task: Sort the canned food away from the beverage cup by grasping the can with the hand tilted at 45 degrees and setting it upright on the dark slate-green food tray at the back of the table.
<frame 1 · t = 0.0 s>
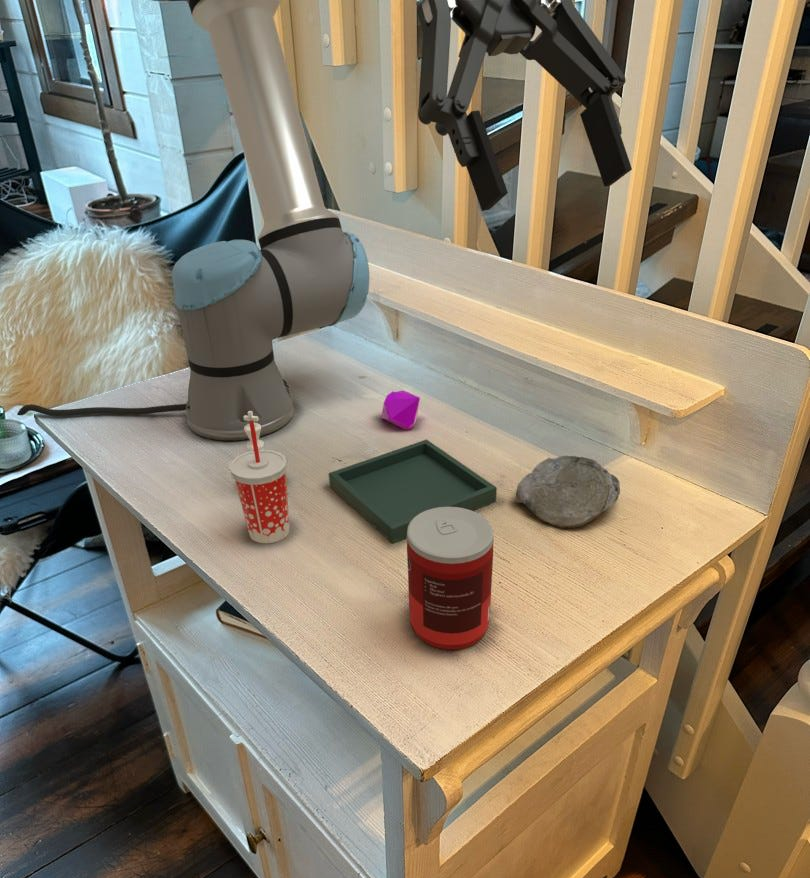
hand: (559, 190, 62), 36 cm above the cabinet top, tool tilted 35°, fingers open, 13 cm apart
chess piece: (262, 485, 95), on the cabinet top
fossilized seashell: (570, 505, 89), on the cabinet top
beverage cup: (269, 533, 87), on the cabinet top
crystal: (400, 423, 107), on the cabinet top
canned food: (449, 624, 73), on the cabinet top
food tray: (411, 493, 92), on the cabinet top
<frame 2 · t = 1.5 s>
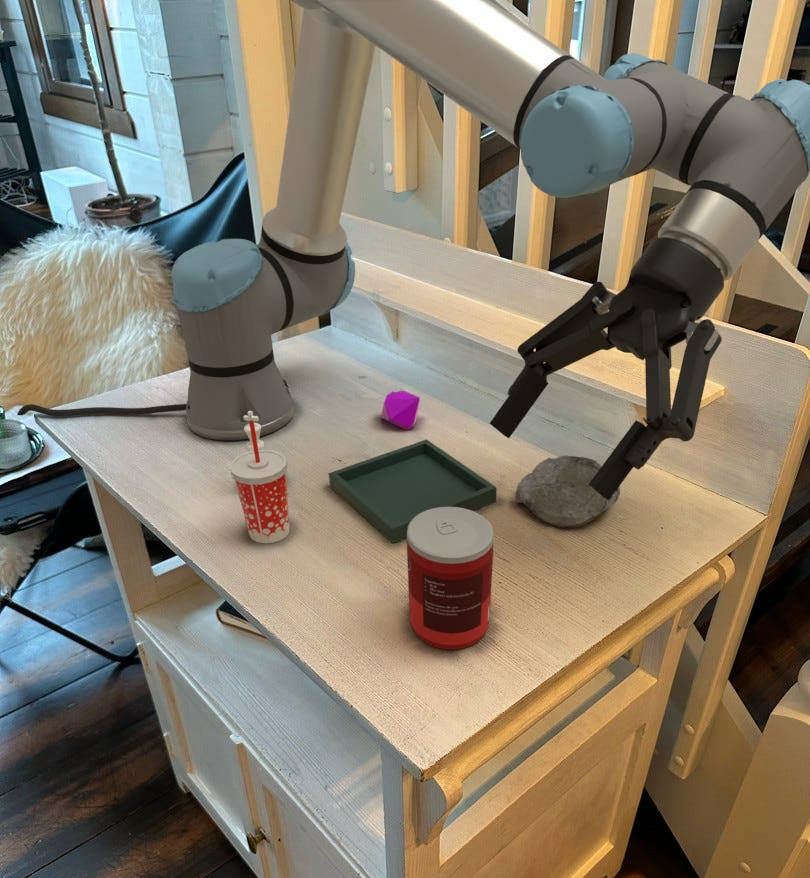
hand: (545, 460, 69), 15 cm above the cabinet top, tool tilted 45°, fingers open, 13 cm apart
nothing on the cabinet top moved.
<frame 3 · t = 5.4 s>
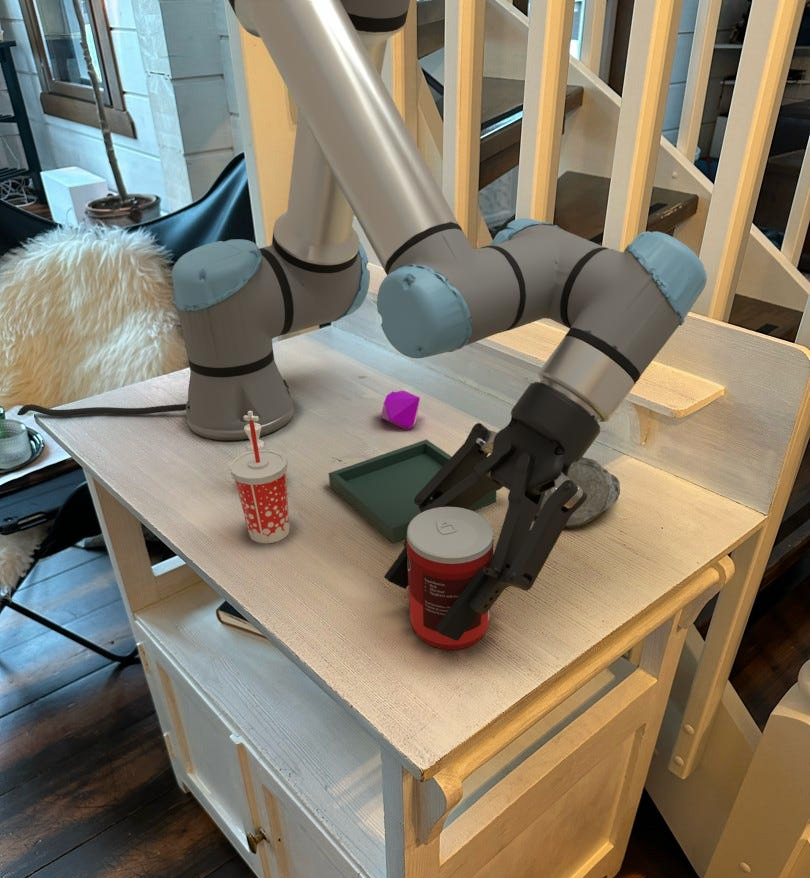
hand: (419, 607, 70), 4 cm above the cabinet top, tool tilted 45°, fingers closed on canned food, 8 cm apart
canned food: (449, 624, 73), on the cabinet top, touching gripper
everything else where it was.
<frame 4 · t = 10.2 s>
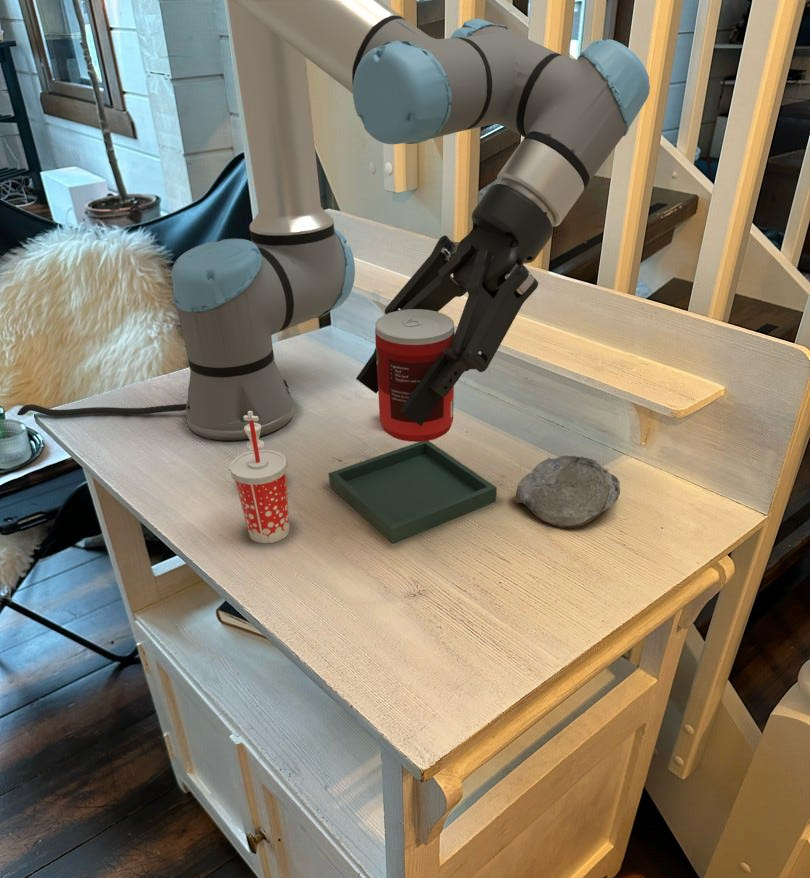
hand: (387, 401, 76), 16 cm above the cabinet top, tool tilted 45°, fingers closed on canned food, 8 cm apart
canned food: (416, 426, 79), point 13 cm above the cabinet top, touching gripper
everything else where it was.
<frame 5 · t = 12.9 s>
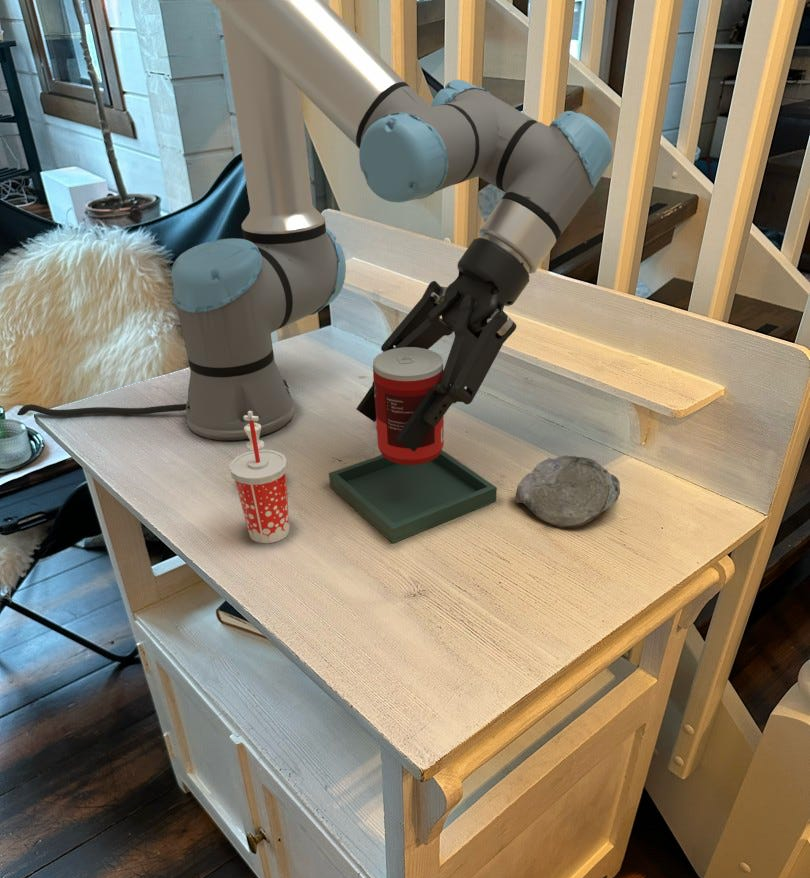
hand: (384, 429, 85), 10 cm above the cabinet top, tool tilted 45°, fingers closed on canned food, 8 cm apart
canned food: (410, 451, 89), point 6 cm above the cabinet top, touching gripper
everything else where it was.
when the fingers open (4 cm above the cabinet top, at t = 14.9 s): canned food stays where it is, resting on food tray.
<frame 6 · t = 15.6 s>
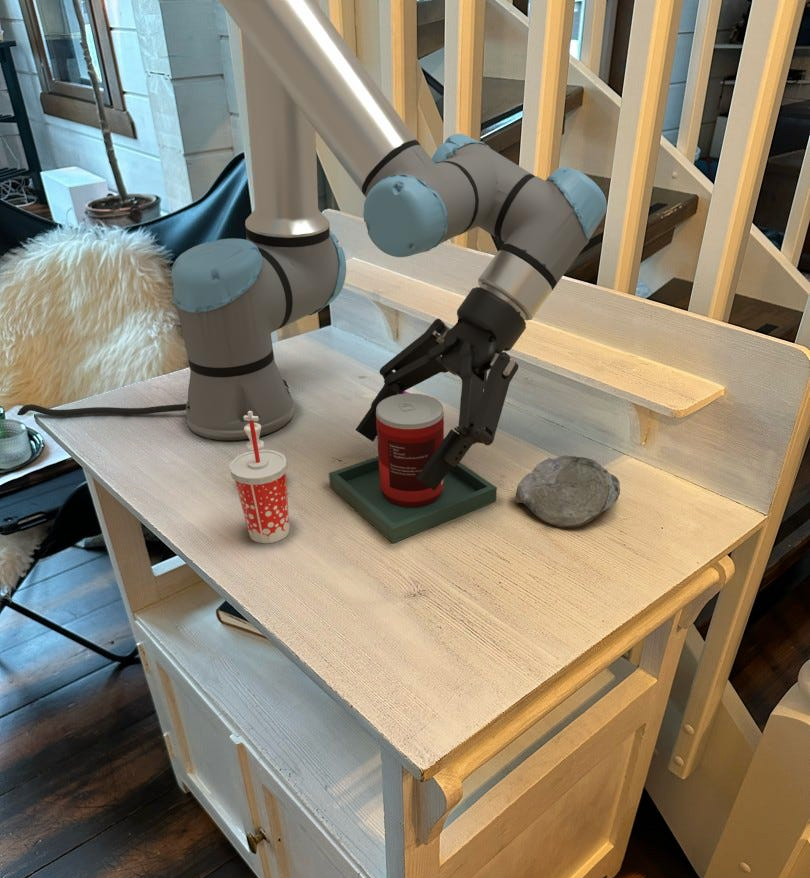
hand: (392, 459, 88), 6 cm above the cabinet top, tool tilted 45°, fingers open, 13 cm apart
canned food: (412, 491, 92), resting on food tray
everything else where it was.
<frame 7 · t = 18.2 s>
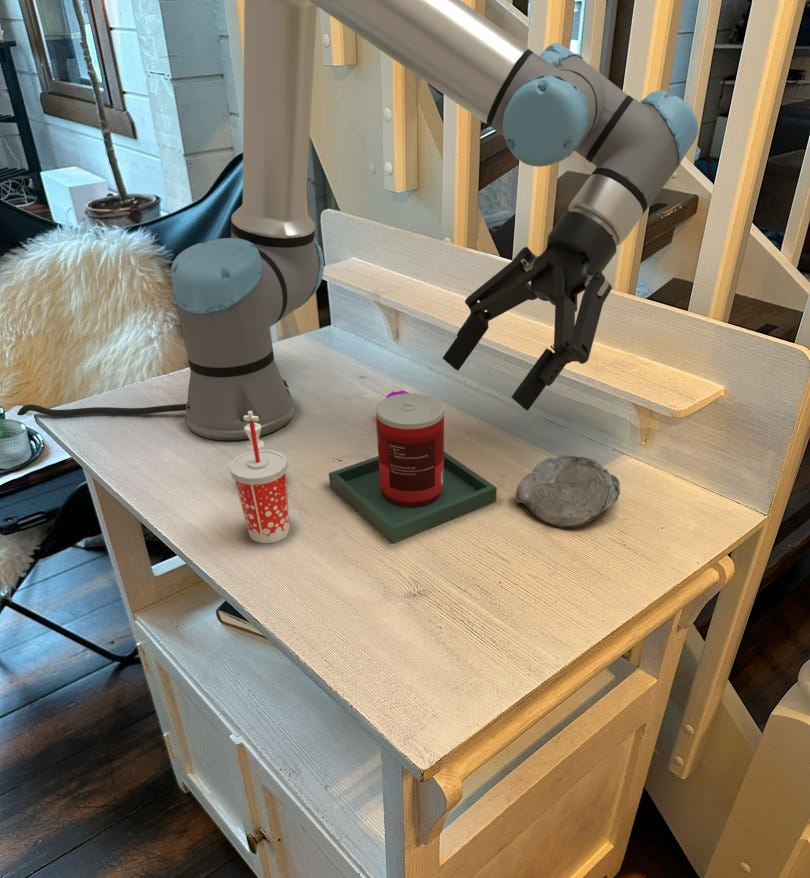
hand: (482, 383, 89), 12 cm above the cabinet top, tool tilted 45°, fingers open, 13 cm apart
nothing on the cabinet top moved.
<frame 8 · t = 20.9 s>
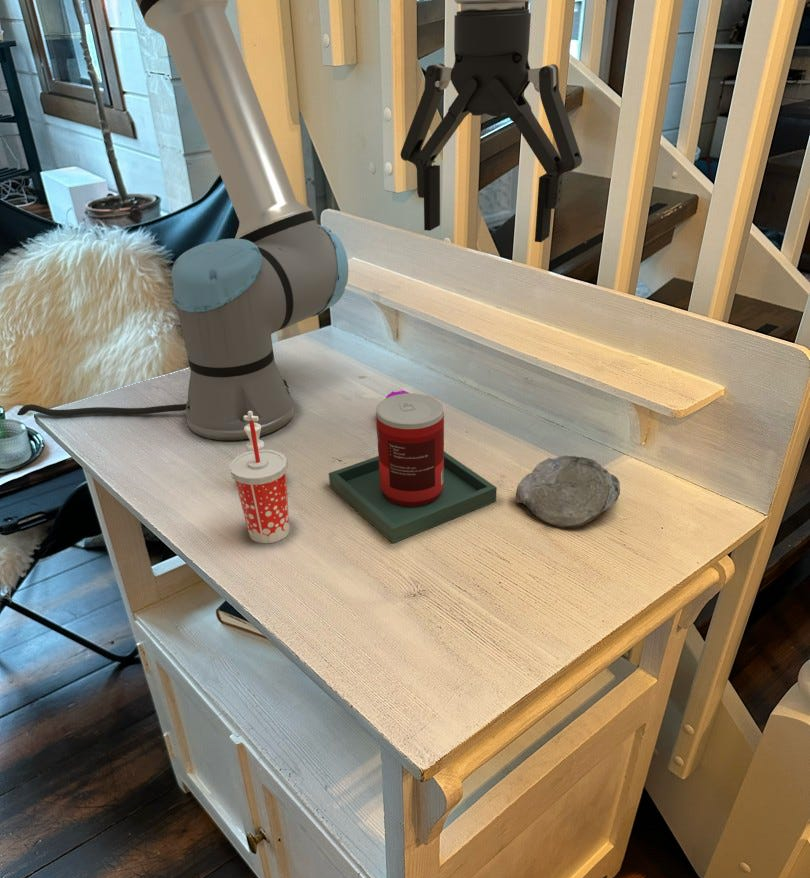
hand: (485, 233, 87), 27 cm above the cabinet top, tool pointing down, fingers open, 13 cm apart
nothing on the cabinet top moved.
at the end: canned food inside the target area in the food tray (0.1 cm from its centre), point 0.3 cm above the food tray's base; canned food tilted 0°; the gripper is holding nothing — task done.
